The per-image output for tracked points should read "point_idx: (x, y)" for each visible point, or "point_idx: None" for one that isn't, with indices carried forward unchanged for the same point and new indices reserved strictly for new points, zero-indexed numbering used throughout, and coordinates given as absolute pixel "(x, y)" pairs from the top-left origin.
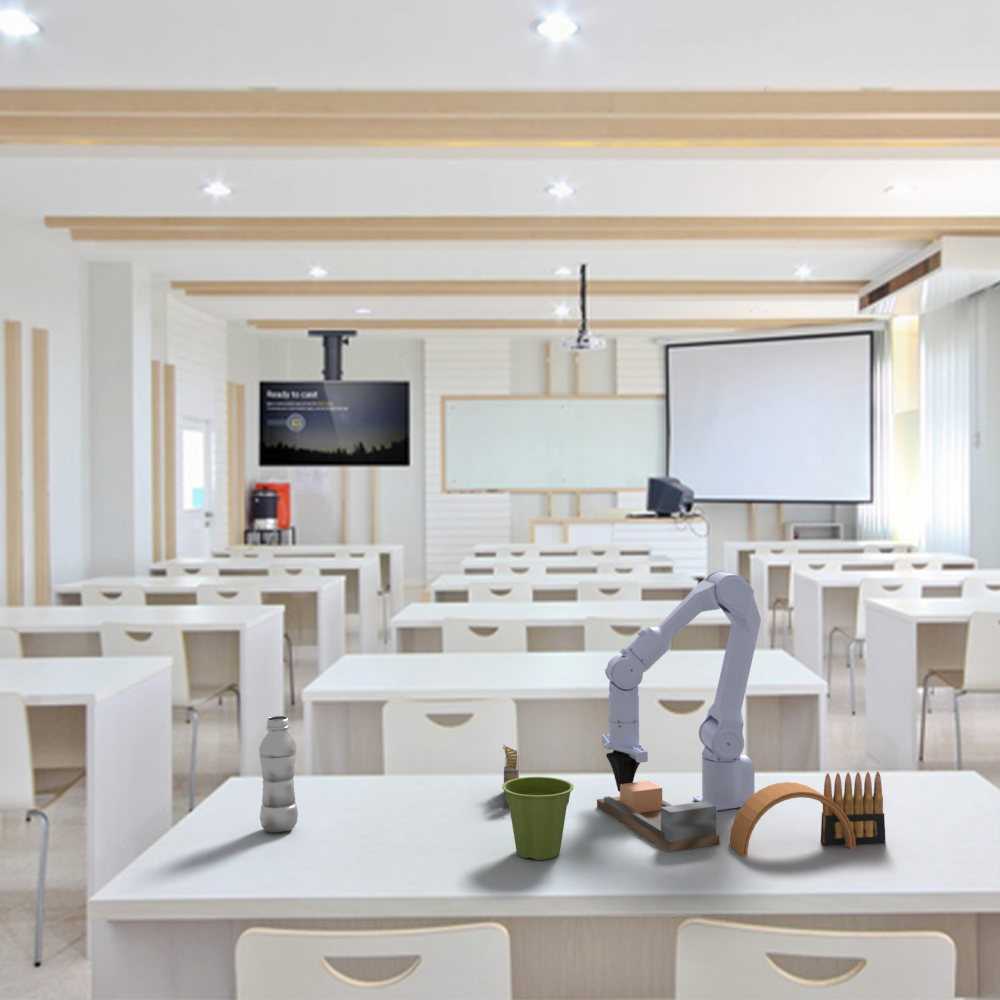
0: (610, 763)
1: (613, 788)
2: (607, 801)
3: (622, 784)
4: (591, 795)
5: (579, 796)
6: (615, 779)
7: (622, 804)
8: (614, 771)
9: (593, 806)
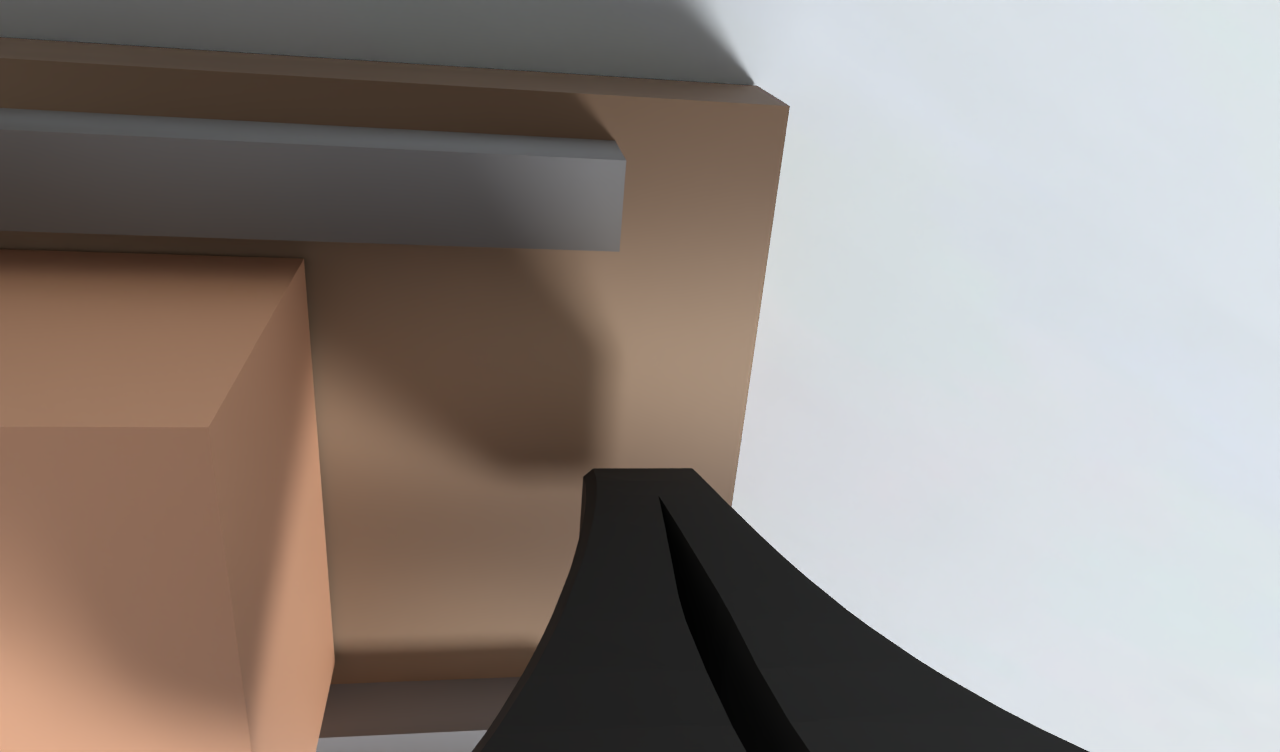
0: (1003, 725)
1: (1199, 596)
2: (494, 142)
3: (175, 468)
4: (1189, 279)
5: (1266, 118)
6: (762, 545)
7: (75, 225)
8: (805, 636)
9: (822, 64)
